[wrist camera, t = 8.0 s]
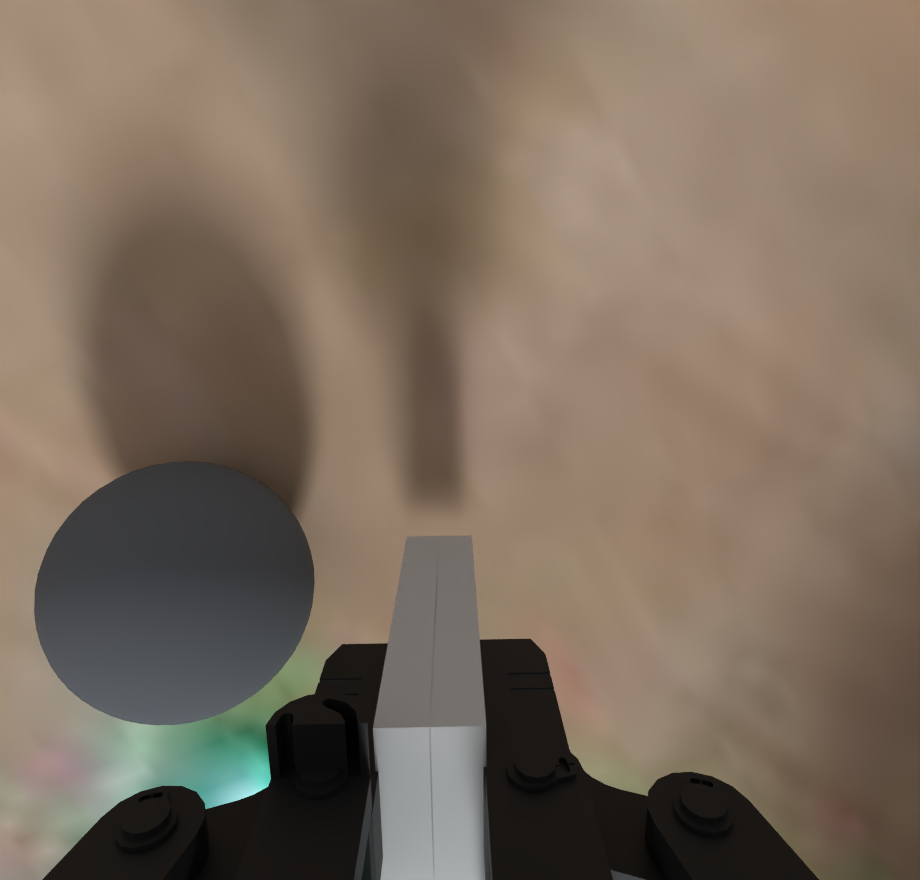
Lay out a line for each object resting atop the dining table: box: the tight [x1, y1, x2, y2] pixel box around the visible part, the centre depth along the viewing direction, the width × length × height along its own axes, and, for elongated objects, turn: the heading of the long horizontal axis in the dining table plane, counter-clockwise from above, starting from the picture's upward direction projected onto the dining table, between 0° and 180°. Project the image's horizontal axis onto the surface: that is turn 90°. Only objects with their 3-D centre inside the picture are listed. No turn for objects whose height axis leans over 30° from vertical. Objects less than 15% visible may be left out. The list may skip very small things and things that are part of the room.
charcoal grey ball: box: [34, 462, 314, 725], centre depth 14 cm, size 6×6×6 cm
